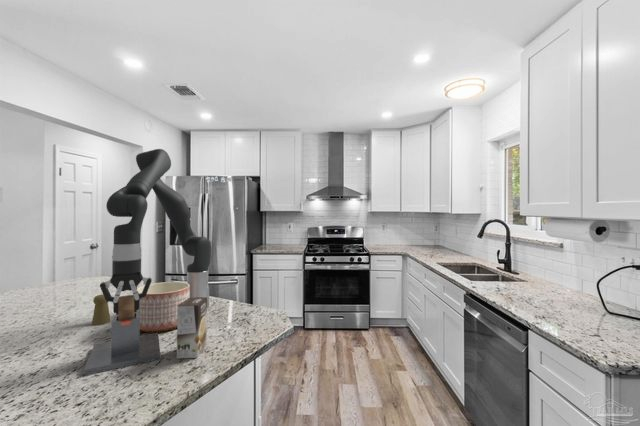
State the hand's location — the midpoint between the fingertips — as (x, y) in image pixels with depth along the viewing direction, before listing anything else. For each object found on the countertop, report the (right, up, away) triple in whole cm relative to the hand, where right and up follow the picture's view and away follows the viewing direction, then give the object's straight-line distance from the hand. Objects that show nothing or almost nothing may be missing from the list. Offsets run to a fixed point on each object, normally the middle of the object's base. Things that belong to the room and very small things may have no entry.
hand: (126, 312), depth 89 cm
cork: (-27, -13, +25) cm, 40 cm away
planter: (-2, -13, +24) cm, 27 cm away
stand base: (0, -13, 0) cm, 13 cm away
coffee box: (+20, -13, +2) cm, 24 cm away
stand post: (0, -11, 0) cm, 11 cm away
